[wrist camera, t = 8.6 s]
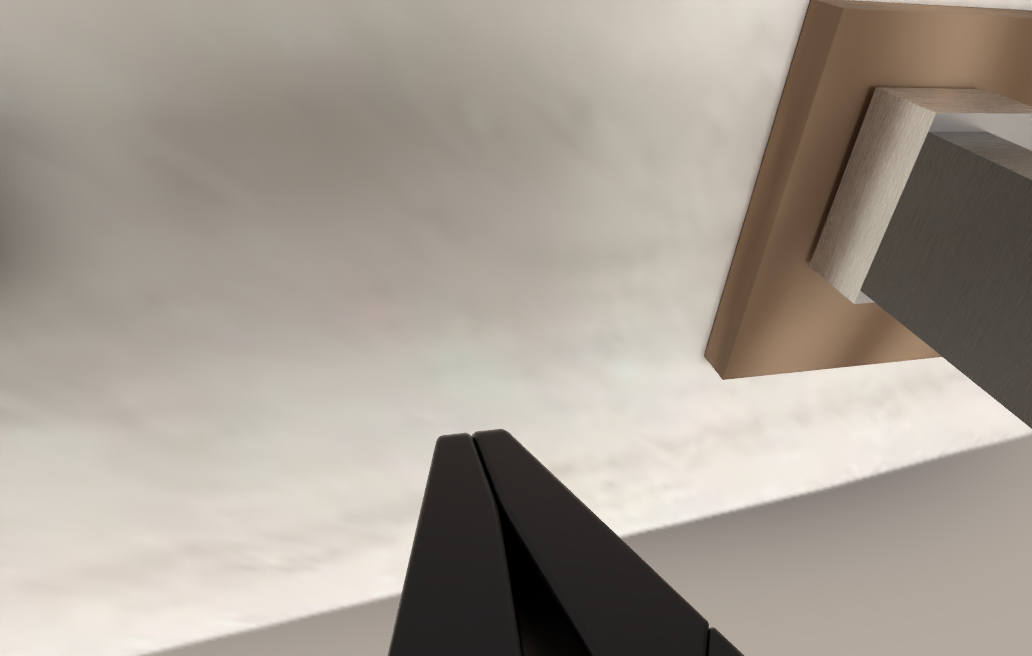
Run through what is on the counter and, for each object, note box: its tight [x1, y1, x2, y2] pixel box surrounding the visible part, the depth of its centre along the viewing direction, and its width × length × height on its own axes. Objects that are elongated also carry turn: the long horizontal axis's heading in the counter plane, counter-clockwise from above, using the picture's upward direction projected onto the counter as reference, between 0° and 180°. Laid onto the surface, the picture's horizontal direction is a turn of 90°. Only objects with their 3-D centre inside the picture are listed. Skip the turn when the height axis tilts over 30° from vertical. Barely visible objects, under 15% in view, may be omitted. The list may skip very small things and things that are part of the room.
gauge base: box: [705, 0, 1032, 380], centre depth 22 cm, size 13×13×8 cm
